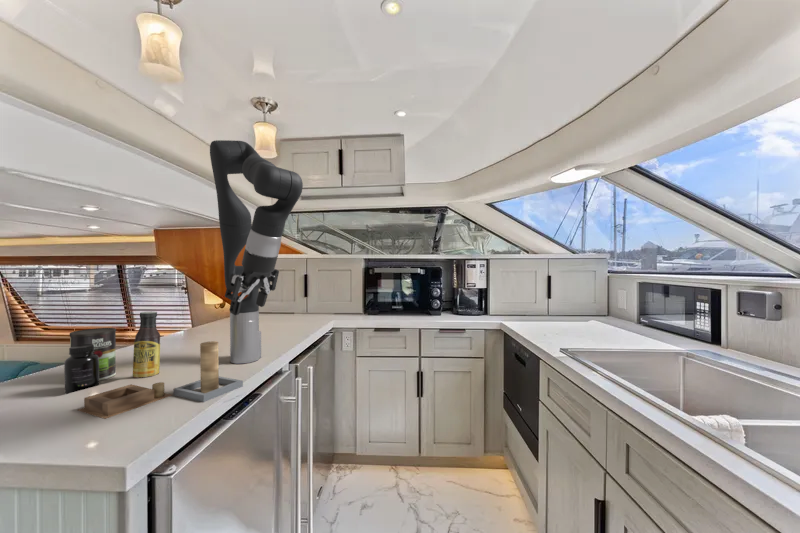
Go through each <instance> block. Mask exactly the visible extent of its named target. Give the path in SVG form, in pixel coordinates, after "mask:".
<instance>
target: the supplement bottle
mask: <svg viewBox="0 0 800 533" xmlns="http://www.w3.org/2000/svg"><path fill="white" fill-rule="evenodd" d="M68 350H69V351H68V355H69V357H67V358H65V360H64V363H63V368H64V370H63V371H64V373H63V375H64V376H63V377H64V378H63V379H64V393H65V394H66V395H68V394H72V393H75V392H80V391H83V390H86V389H87V390H88V389H91V388H94V387H98V386H100V381H99V357H98V355H96V354H94V353H93V352H94V345H93V344H83V345H77V346H72V347H69V349H68Z"/></svg>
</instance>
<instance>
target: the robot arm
mask: <svg viewBox="0 0 800 533" xmlns="http://www.w3.org/2000/svg"><path fill="white" fill-rule="evenodd" d="M209 158H210V163H211V170H212V174H213V180H214V184H215V190H216V200H217V209H218V221H219V230H220V236H221V237H220V238H221V244H222V253H223V268H224V269H223V271H224V284H225V289H226V290H225V294H224V297H225V298H227V299H228V300H230V306H229V310H228V311H229V326H230V327H229V337H230V342H229V346H230V348H229V349H230V350H229V354H230V355H229V357H230V360H229V362H230V363H232V364H239V365H240V364H250V363H254V362H256V361H258V360H259V359H261V358H262V331H261V330H260V318H259V317H260V314H259V313H260V308H263V307H265V306H266V305H265V304H266V302H267V298H268V295H269V294H270V293H271V291H272V292H273V291H275V290H276V288H277V283H278V277H279V273H280V271H279V270H278V269H276V264H277V260H278V258H279V257H278V256H279V252H280V249H281V245H282V238H283V237H282V236H283V233H284V230H285V225H286V222H287V220H288V218H289V216H290V214H291V212H292V210H293V209H294V207H295V206H296V204H297V202H298V200H299V198H300V197H301V196H302V193H303V187H304V184H303V180H302V177H301V176H300V174H299V173H297V172H296V171H292V170H289V169H286V168H285V169H284V168H281V167H277V166H276V165H275V164H274V163H273V162H271V161H269V160H267V159H266V158H263V157H262V156H261V155H260V154H259V153H258V151H256V149H254V148H253V146H252V145H251V144H249V143H248V142H246V141H244V140H232V139H231V140H230V139H229V140H225V139H223V140H221V139H220V140H217V139H216V140H213V141H211V142H210V145H209ZM238 174H239V175H240V174H241V175H243V177H244V178H245V180H247V182H249V183H250V184H252V186H253V188H254V189H253V190H254V191H255V192H256V193H257V194H259V195H260V196H262V197H266V198H269V199H270V198H271V199H276V202H274V204H271V205H260V206H257V207H256V209H255V211H254V214H253V219H252V214H251V212H250V210H249V208H248V207H247V206H246V205H245V204H244V202H243V201H242V200H241V199H240V198H239V196H237V194H236V193H235V191H234V190H233V189H232V187H231V185H230V183H229V178H228V175H238ZM244 247H245V248H244ZM243 249H244V251H243V256H242V260H241V265H236V261H237V259H238V257H239V255H240V253H241V252H242V250H243ZM239 293H240V294H239Z"/></svg>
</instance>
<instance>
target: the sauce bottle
mask: <svg viewBox="0 0 800 533" xmlns="http://www.w3.org/2000/svg"><path fill="white" fill-rule="evenodd" d="M157 317H158V312H157V311H153V310H152V311H150V310H149V311H141V312H140V313H139V318H140V320H139V321H140V325H139V329H138V331H137V333H136V334H135V338H134V342H133V360H132V361H133V362H132V377H133V379H145V378H152V377H155V376H156V375H159V373H160V367H161V366H160V361H161V333H160V331H158V329H157Z"/></svg>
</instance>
